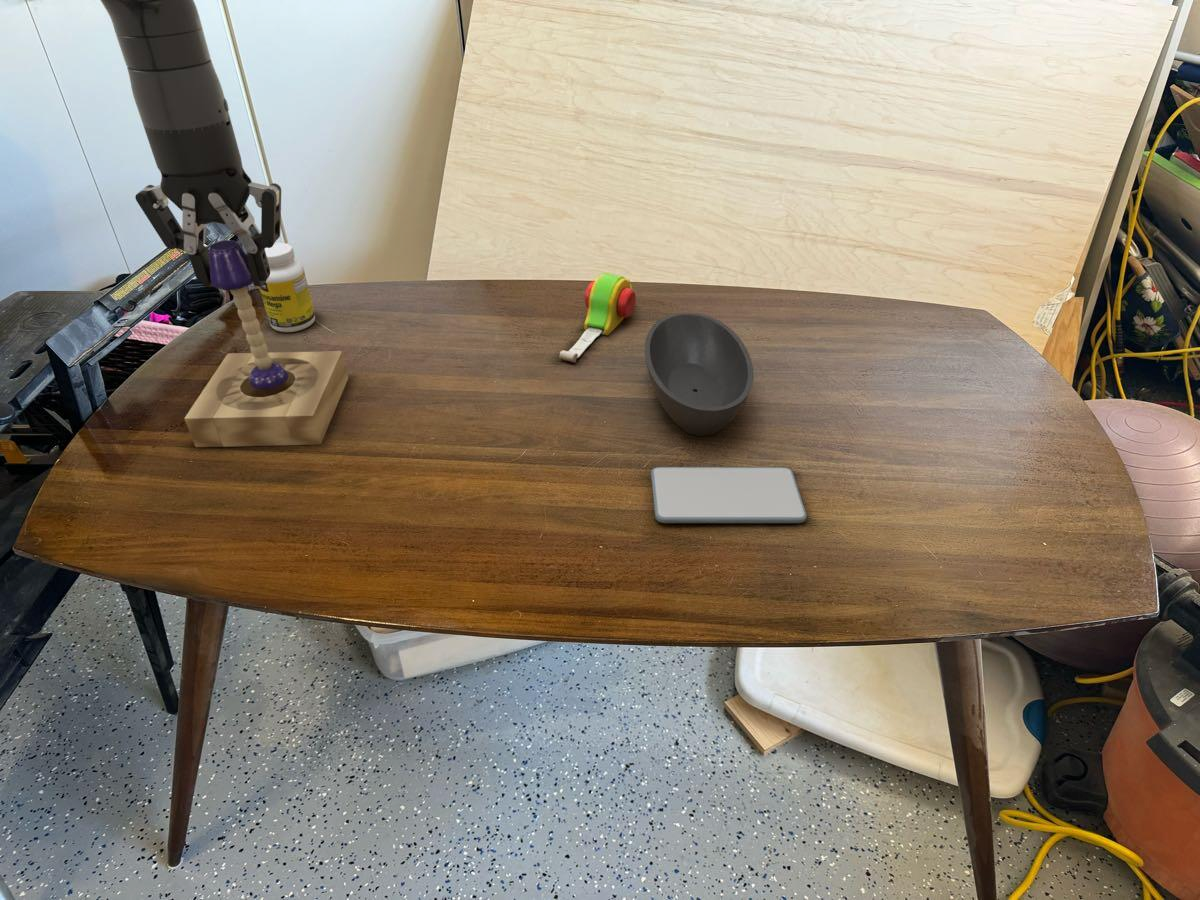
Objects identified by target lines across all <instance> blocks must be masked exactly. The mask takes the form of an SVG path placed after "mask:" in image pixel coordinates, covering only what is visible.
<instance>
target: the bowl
mask: <svg viewBox="0 0 1200 900" xmlns="http://www.w3.org/2000/svg"><path fill="white" fill-rule="evenodd" d="M644 358H645V362H646V367H647V371H648V375H649V378H650V382H651V385H652V387H653V389H654V392H655V394H656V396H657V398H658V401H659V402H660V404H661V406H662V408H663V409H664V410H665V412H666V413H667V414H668V416H669V417H670V419H671V420H672V421H673V422H674V423H675V424H676V425H677V427H678V428H680V429H681V430H682V431H684V432H686V433H689V434H691V435H692V436H697V437H708V436H711V435H714V434H716V433H717V432H720V431H721V430H722V429H724V428H726V427H727V426H728V425H729V424H730V423H731V422H732V421H733V420H734V419H735V417H736V416H737V415H738V414H739V413H740V411H741V410H742V408H743V406H744V405H745V402H746V401H747V398H748V397H749V395H750V393H751V390H752V387H753V384H754V367H753V365H754V364H753V362H752V358H751V355H750V353H749V351H748V349H747V347H746V345H745V344H744V342H743V340H742V339H741V338H740V337H739V335H738V334H737V333H736V332H735V331H734V330H733V329H732V328H730V327H729V326H728V325H726V324H725V323H724V322H722V321H720V320H719V319H717V318H715V317H712V316H709V315H707V314H703V313H699V312H698V313H696V312H676V313H673V314H669V315H666V316H664V317H662V318H660V319H659V320H657V321H656V322H655V323H654V324H653V325H652V326H651V327H650V329H649V330H648V332H647V335H646V337H645V342H644Z"/></svg>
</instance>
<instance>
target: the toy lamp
mask: <svg viewBox="0 0 1200 900" xmlns="http://www.w3.org/2000/svg"><path fill="white" fill-rule="evenodd" d="M208 248H209V265H210V279H211V283H212V285H213V287H214V288H215V289H218V290H222V291H229V292H230V293H231V295H232V296H233V299H232V300H233V303H234V305H235V307H236V308H237V315H238V318H239V319H240V321H241V327H242V329H243V331H244V332H245V333H246V334H245V338H246V341H247V344H249V345H250V347H249V350H250V353H252V354H253V355H254V356H255V357H254V361H255V364H256V367H255V368H254V369H253V370H252V371H251V373H250V378H249V381H250V385H251V386H252V387H253V388H256V389H262V390H265V389H272V388H275V387H278V386H280V385H282V384H283V383H285V382H286V381H287V379H288V373H287V372H286V370H285V369H284V368H283V367H282V366H281V365H279V364H277V363H274V362H272V361H271V357H270V356H269V354H268V353H269V349H268V345H267V344H266V343H265V336H264V333H263V332H262V331H261V324H260V321H259V320H258V318H257V312H256V308H255V307H254V306H253V300H252V297H251V295H250V294H249V288H248V287H249V286H250V285H252V284H254V283H253V279H252V276H251V273H250V269H249V266H248V262H247V259H246V252H245V251H244V249H243V247H242V246H241V245H240V243H239V242H237V241H236V240H231V239H226V240H225V239H224V240H219V241H217V242H214V243H213V244H211V245H210V246H209V247H208Z"/></svg>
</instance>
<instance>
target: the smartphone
mask: <svg viewBox="0 0 1200 900" xmlns="http://www.w3.org/2000/svg"><path fill="white" fill-rule="evenodd" d="M650 478H651V479H650V481H651V489H652V490H651V491H652V500H653V509H654V518H655V519H656V521H657V522H659V523H662V524H803V523H804V522H805V521H806V520H807V517H808V515H807V512H806V509H805V506H804V503H803V499H802V496H801V494H800V489H799V486H798V484H797V481H796V478H795V475H794V472H793V470H792V469H790V468H789V467H786V466H656V467H653V468H652V469H651V471H650Z"/></svg>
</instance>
